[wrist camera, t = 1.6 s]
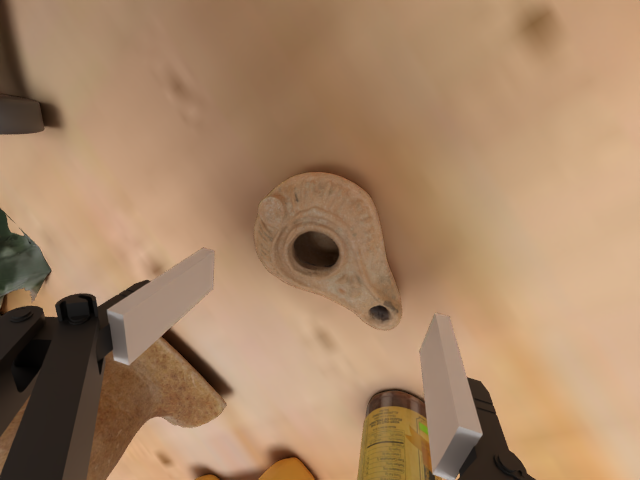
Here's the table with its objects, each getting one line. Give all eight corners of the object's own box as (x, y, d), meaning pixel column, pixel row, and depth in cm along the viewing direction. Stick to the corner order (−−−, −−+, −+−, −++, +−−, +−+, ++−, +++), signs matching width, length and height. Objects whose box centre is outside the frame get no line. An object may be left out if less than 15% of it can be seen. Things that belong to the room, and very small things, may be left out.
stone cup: (89, 337, 35) (-100, 473, 22) (137, 290, 30) (-70, 428, 17) (179, 422, 38) (58, 592, 24) (237, 391, 33) (126, 583, 19)
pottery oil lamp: (357, 330, 25) (297, 376, 20) (297, 206, 27) (227, 221, 22) (451, 306, 19) (397, 364, 14) (366, 147, 21) (290, 150, 16)
